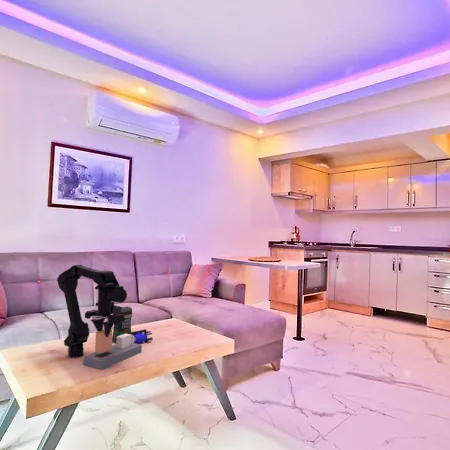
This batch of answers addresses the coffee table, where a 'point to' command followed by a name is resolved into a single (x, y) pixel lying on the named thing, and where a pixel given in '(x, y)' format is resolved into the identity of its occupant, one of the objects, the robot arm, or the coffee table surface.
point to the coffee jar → (123, 324)
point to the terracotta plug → (103, 342)
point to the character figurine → (140, 336)
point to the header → (111, 356)
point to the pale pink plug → (123, 341)
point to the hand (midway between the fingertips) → (104, 336)
